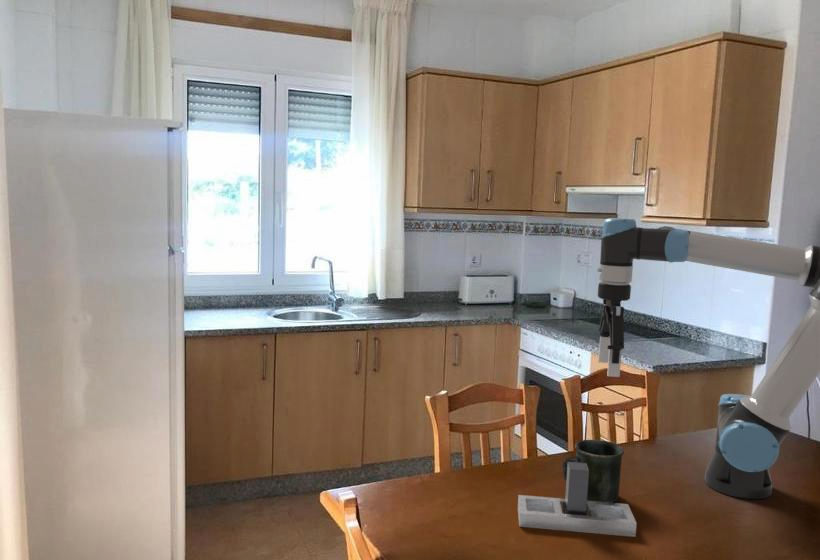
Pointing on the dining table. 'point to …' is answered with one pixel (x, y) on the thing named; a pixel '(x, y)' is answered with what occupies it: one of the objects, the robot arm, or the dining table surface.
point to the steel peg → (576, 488)
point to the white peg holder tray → (576, 516)
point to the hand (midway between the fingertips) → (608, 369)
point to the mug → (599, 468)
